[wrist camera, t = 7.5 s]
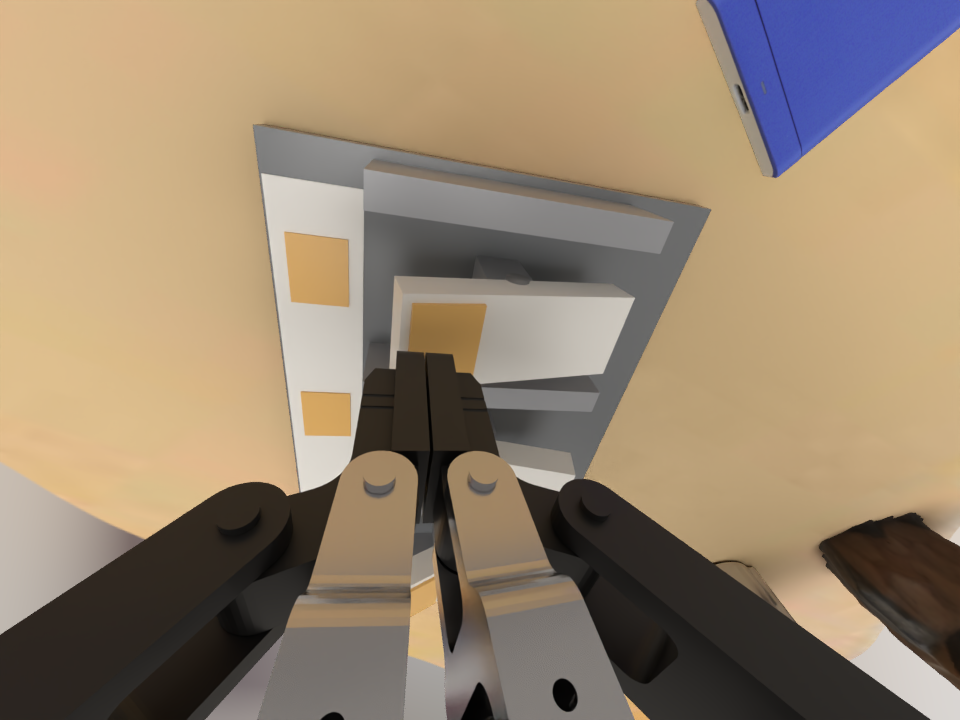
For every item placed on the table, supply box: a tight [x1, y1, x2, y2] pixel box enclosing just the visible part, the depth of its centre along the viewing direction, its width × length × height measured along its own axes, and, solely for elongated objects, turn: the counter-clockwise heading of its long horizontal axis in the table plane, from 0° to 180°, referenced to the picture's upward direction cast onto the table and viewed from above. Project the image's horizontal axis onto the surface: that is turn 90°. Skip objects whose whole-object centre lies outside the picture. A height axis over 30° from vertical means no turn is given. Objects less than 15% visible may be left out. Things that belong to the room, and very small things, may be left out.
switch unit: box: [253, 124, 711, 556], centre depth 21 cm, size 19×26×4 cm
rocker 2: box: [389, 273, 635, 384], centre depth 14 cm, size 9×4×2 cm, turn 80°
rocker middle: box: [496, 440, 576, 492], centre depth 18 cm, size 9×4×2 cm, turn 80°
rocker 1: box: [410, 546, 437, 617], centre depth 22 cm, size 9×4×2 cm, turn 80°
